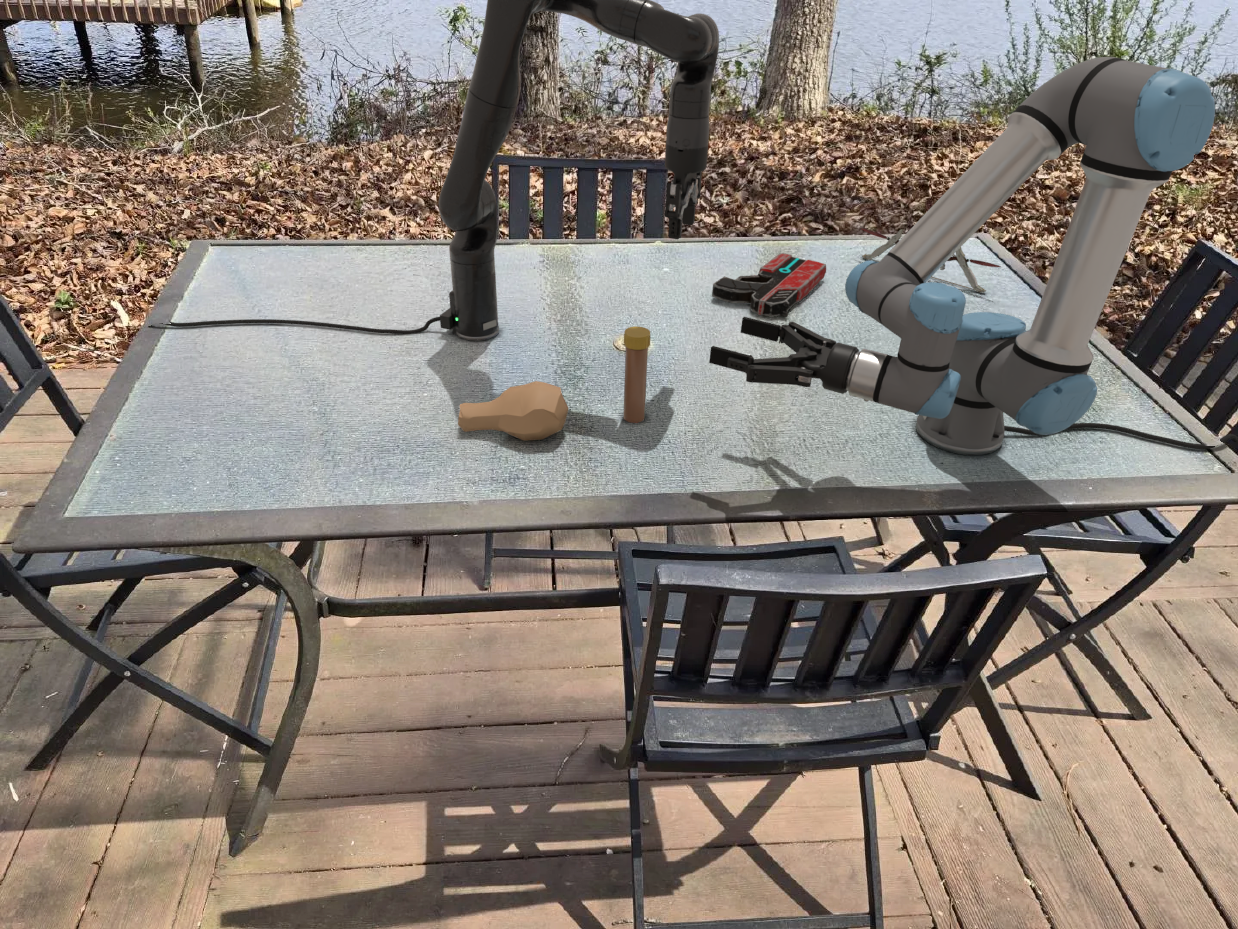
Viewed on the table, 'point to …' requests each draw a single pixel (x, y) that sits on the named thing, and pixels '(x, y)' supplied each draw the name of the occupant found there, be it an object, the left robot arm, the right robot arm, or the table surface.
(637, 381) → the jar
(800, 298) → the gun
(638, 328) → the lid
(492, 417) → the squash
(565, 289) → the table surface
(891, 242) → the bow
